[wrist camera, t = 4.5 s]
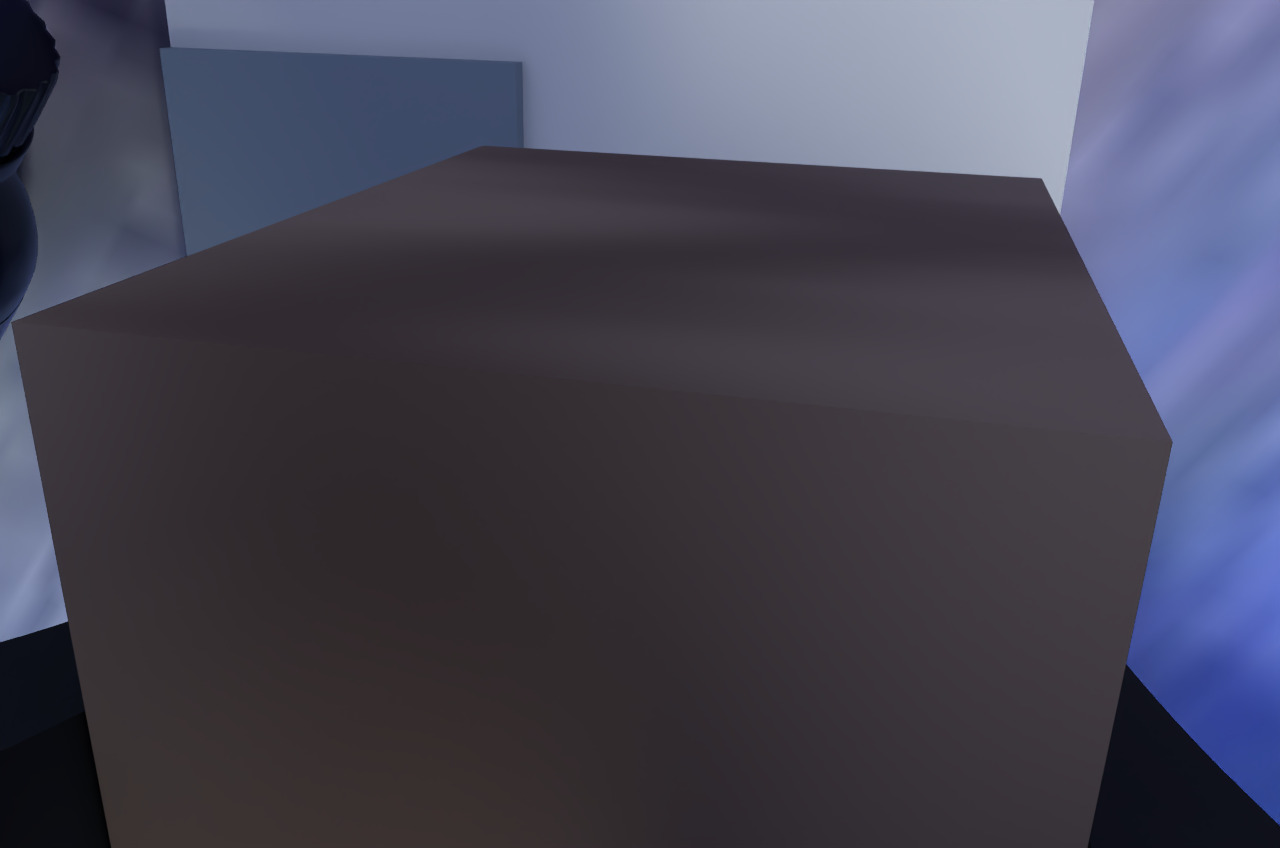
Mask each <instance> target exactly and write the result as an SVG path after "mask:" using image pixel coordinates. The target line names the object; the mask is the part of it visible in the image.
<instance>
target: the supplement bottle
mask: <svg viewBox="0 0 1280 848" xmlns="http://www.w3.org/2000/svg"><path fill="white" fill-rule="evenodd" d="M59 62H60V56H59V54H58V52H57V50H56V49H55V39H54V38H53V37H52V36H51V35H50V33H49V32H48V31H47V30H46V25H45V22H44V21H43V20H42V19H41V18H40V17H39V16H38V15H37V14H35V13H34V12H33V10H32V8H31V6H30V4H29V3H28V2H27V1H26V0H0V340H1V338H2V336H3V334H4V332H5V331H6V329H7V327H8V325H9V323H10V321H11V320H12V318H13V316H14V314H15V312H16V310H17V309H18V307H19V305H20V303H21V301H22V299H23V297H24V294H25V292H26V290H27V288H28V286H29V283H30V281H31V278H32V276H33V273H34V271H35V266H36V260H37V255H38V235H37V228H36V221H35V216H34V212H33V209H32V205H31V202H30V199H29V196H28V194H27V191H26V189H25V187H24V185H23V183H22V181H21V179H20V177H19V175H18V174H17V172H16V170H17V169H18V167H19V166H20V164H21V162H22V160H23V158H24V156H25V154H26V152H27V150H28V148H29V146H30V144H31V142H32V139H33V134H34V125H35V124H36V122H37V120H38V118H39V116H40V114H41V112H42V110H43V108H44V106H45V104H46V102H47V100H48V98H49V96H50V94H51V92H52V90H53V88H54V86H55V84H56V82H57V78H58V73H59V71H58V66H59Z"/></svg>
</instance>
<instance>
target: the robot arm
mask: <svg viewBox="0 0 1280 848" xmlns="http://www.w3.org/2000/svg"><path fill="white" fill-rule="evenodd" d="M0 848H111V844H110V839H109V833H108V828H107V823H106V817H105V812H104V807H103V802H102V796H101V791H100V786H99V781H98V775H97V770H96V765H95V760H94V754H93V749H92V744H91V739H90V733H89V728H88V723H87V718H86V712H85V707H84V702H83V697H82V691H81V686H80V681H79V675H78V670H77V665H76V660H75V654H74V649H73V644H72V639H71V633H70V628H69V623H68V622H65V623H62V624H59V625H56V626H53V627H50V628H46V629H43V630H40V631H37V632H34V633H30V634H27V635H24V636H21V637H17V638H14V639H10V640H7V641H3V642H0ZM1087 848H1280V826H1279V825H1278V824H1277V823H1276V822H1275V821H1274V820H1273V819H1272V818H1271V817H1270V816H1269V815H1268V814H1267V813H1266V812H1265V811H1264V810H1263V809H1262V808H1261V807H1260V806H1259V805H1258V804H1257V803H1256V802H1254V801H1253V800H1252V799H1251V798H1250V797H1249V796H1248V795H1247V794H1246V793H1245V792H1244V791H1243V790H1242V789H1241V788H1240V787H1239V786H1238V785H1237V784H1236V783H1235V782H1234V781H1233V780H1232V779H1231V778H1230V777H1229V776H1228V775H1227V774H1226V773H1225V772H1224V771H1223V770H1222V769H1221V768H1220V767H1219V766H1218V765H1217V764H1216V763H1215V762H1214V761H1213V760H1212V759H1211V758H1210V757H1209V756H1208V755H1207V754H1206V753H1205V752H1204V751H1203V750H1202V749H1201V748H1200V747H1199V746H1198V744H1197V743H1196V742H1195V741H1194V740H1193V739H1192V738H1191V737H1190V736H1189V735H1188V734H1187V733H1186V732H1185V731H1184V730H1183V728H1182V727H1181V726H1180V725H1179V724H1178V723H1177V722H1176V721H1175V720H1174V719H1173V718H1172V716H1171V715H1170V714H1169V713H1168V712H1167V711H1166V710H1165V709H1164V707H1163V706H1162V705H1161V704H1160V703H1159V702H1158V701H1157V700H1156V698H1155V697H1154V696H1153V695H1152V694H1151V693H1150V692H1149V690H1148V689H1147V688H1146V687H1145V686H1144V685H1143V683H1142V682H1141V681H1140V680H1139V679H1138V678H1137V677H1136V675H1135V674H1134V673H1133V672H1132V671H1131V669H1130V668H1129V667H1128V666H1127V665H1126V666H1125V671H1124V676H1123V680H1122V685H1121V690H1120V695H1119V700H1118V704H1117V709H1116V714H1115V719H1114V723H1113V728H1112V733H1111V738H1110V742H1109V747H1108V752H1107V757H1106V761H1105V766H1104V771H1103V776H1102V780H1101V785H1100V790H1099V795H1098V799H1097V804H1096V809H1095V814H1094V819H1093V823H1092V828H1091V833H1090V838H1089V842H1088V847H1087Z"/></svg>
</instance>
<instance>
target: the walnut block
mask: <svg viewBox="0 0 1280 848" xmlns="http://www.w3.org/2000/svg"><path fill="white" fill-rule="evenodd" d="M11 323H12V328H13V334H14V339H15V344H16V349H17V355H18V360H19V365H20V370H21V376H22V381H23V386H24V391H25V397H26V402H27V407H28V413H29V418H30V423H31V428H32V434H33V439H34V444H35V449H36V455H37V460H38V465H39V470H40V476H41V481H42V486H43V491H44V497H45V502H46V507H47V512H48V518H49V523H50V528H51V533H52V539H53V544H54V549H55V555H56V560H57V565H58V570H59V576H60V581H61V586H62V591H63V597H64V602H65V607H66V612H67V618H68V623H69V628H70V633H71V639H72V644H73V649H74V654H75V660H76V665H77V670H78V675H79V681H80V686H81V691H82V697H83V702H84V707H85V712H86V718H87V723H88V728H89V733H90V739H91V744H92V749H93V754H94V760H95V765H96V770H97V775H98V781H99V786H100V791H101V796H102V802H103V807H104V812H105V817H106V823H107V828H108V833H109V839H110V844H111V848H1087V847H1088V842H1089V838H1090V833H1091V828H1092V823H1093V819H1094V814H1095V809H1096V804H1097V799H1098V795H1099V790H1100V785H1101V780H1102V776H1103V771H1104V766H1105V761H1106V757H1107V752H1108V747H1109V742H1110V738H1111V733H1112V728H1113V723H1114V719H1115V714H1116V709H1117V704H1118V700H1119V695H1120V690H1121V685H1122V680H1123V676H1124V671H1125V666H1126V661H1127V657H1128V652H1129V647H1130V642H1131V638H1132V633H1133V628H1134V623H1135V619H1136V614H1137V609H1138V604H1139V600H1140V595H1141V590H1142V585H1143V581H1144V576H1145V571H1146V566H1147V561H1148V557H1149V552H1150V547H1151V542H1152V538H1153V533H1154V528H1155V523H1156V519H1157V514H1158V509H1159V504H1160V500H1161V495H1162V490H1163V485H1164V481H1165V476H1166V471H1167V466H1168V462H1169V457H1170V452H1171V447H1172V440H1171V438H1170V436H1169V434H1168V432H1167V430H1166V428H1165V426H1164V424H1163V422H1162V420H1161V418H1160V416H1159V413H1158V411H1157V409H1156V407H1155V405H1154V403H1153V401H1152V399H1151V397H1150V395H1149V393H1148V391H1147V389H1146V387H1145V385H1144V383H1143V381H1142V379H1141V377H1140V375H1139V373H1138V371H1137V369H1136V367H1135V365H1134V363H1133V361H1132V359H1131V357H1130V355H1129V353H1128V351H1127V349H1126V347H1125V345H1124V343H1123V341H1122V339H1121V337H1120V335H1119V333H1118V331H1117V329H1116V327H1115V325H1114V323H1113V321H1112V319H1111V317H1110V315H1109V313H1108V311H1107V309H1106V307H1105V305H1104V303H1103V301H1102V299H1101V297H1100V295H1099V293H1098V291H1097V289H1096V287H1095V285H1094V283H1093V281H1092V279H1091V277H1090V275H1089V273H1088V271H1087V269H1086V267H1085V265H1084V263H1083V260H1082V258H1081V256H1080V254H1079V252H1078V250H1077V248H1076V246H1075V244H1074V242H1073V240H1072V238H1071V236H1070V234H1069V232H1068V230H1067V228H1066V226H1065V224H1064V222H1063V220H1062V218H1061V216H1060V214H1059V212H1058V210H1057V208H1056V206H1055V204H1054V202H1053V200H1052V198H1051V196H1050V194H1049V192H1048V190H1047V188H1046V186H1045V184H1044V182H1043V180H1042V178H1027V177H1010V176H993V175H976V174H959V173H941V172H924V171H907V170H890V169H873V168H856V167H839V166H822V165H805V164H788V163H771V162H754V161H737V160H720V159H703V158H686V157H669V156H652V155H635V154H618V153H601V152H584V151H566V150H549V149H532V148H515V147H498V146H480V147H477V148H475V149H472V150H469V151H467V152H464V153H461V154H459V155H456V156H453V157H451V158H448V159H445V160H443V161H440V162H437V163H435V164H432V165H429V166H427V167H424V168H421V169H419V170H416V171H413V172H411V173H408V174H405V175H403V176H400V177H397V178H395V179H392V180H389V181H387V182H384V183H381V184H379V185H376V186H373V187H371V188H368V189H365V190H363V191H360V192H357V193H355V194H352V195H349V196H347V197H344V198H341V199H339V200H336V201H333V202H331V203H328V204H325V205H323V206H320V207H317V208H315V209H312V210H309V211H307V212H304V213H301V214H299V215H296V216H293V217H291V218H288V219H285V220H282V221H280V222H277V223H274V224H272V225H269V226H266V227H264V228H261V229H258V230H256V231H253V232H250V233H248V234H245V235H242V236H240V237H237V238H234V239H232V240H229V241H226V242H224V243H221V244H218V245H216V246H213V247H210V248H208V249H205V250H202V251H200V252H197V253H194V254H192V255H189V256H186V257H184V258H181V259H178V260H176V261H173V262H170V263H168V264H165V265H162V266H160V267H157V268H154V269H152V270H149V271H146V272H144V273H141V274H138V275H136V276H133V277H130V278H128V279H125V280H122V281H120V282H117V283H114V284H112V285H109V286H106V287H104V288H101V289H98V290H96V291H93V292H90V293H88V294H85V295H82V296H80V297H77V298H74V299H72V300H69V301H66V302H64V303H61V304H58V305H56V306H53V307H50V308H48V309H45V310H42V311H40V312H37V313H34V314H32V315H29V316H26V317H24V318H21V319H18V320H16V321H13V322H11Z"/></svg>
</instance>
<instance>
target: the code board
mask: <svg viewBox="0 0 1280 848" xmlns="http://www.w3.org/2000/svg"><path fill="white" fill-rule="evenodd" d="M1093 5H1094V0H165V6H166V14H167V22H168V29H169V37H170V45H171V47H179V48H203V49H227V50H250V51H274V52H298V53H322V54H346V55H370V56H394V57H418V58H442V59H466V60H490V61H514V62H522V75H523V129H524V148H532V149H549V150H566V151H584V152H601V153H618V154H635V155H652V156H669V157H686V158H703V159H720V160H737V161H754V162H771V163H788V164H805V165H822V166H839V167H856V168H873V169H890V170H907V171H924V172H941V173H959V174H976V175H993V176H1010V177H1027V178H1042V180H1043V182H1044V184H1045V186H1046V188H1047V190H1048V192H1049V194H1050V196H1051V198H1052V200H1053V202H1054V204H1055V206H1056V208H1057V210H1058V212H1059V214H1060V213H1061V206H1062V200H1063V194H1064V187H1065V181H1066V175H1067V168H1068V162H1069V156H1070V150H1071V143H1072V137H1073V131H1074V124H1075V118H1076V112H1077V105H1078V99H1079V93H1080V87H1081V80H1082V74H1083V68H1084V61H1085V55H1086V49H1087V42H1088V36H1089V30H1090V24H1091V17H1092V11H1093Z"/></svg>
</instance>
